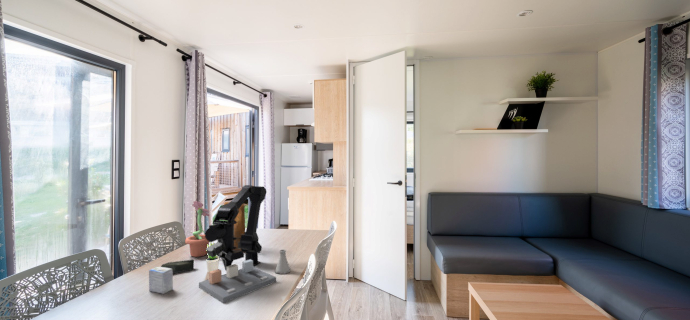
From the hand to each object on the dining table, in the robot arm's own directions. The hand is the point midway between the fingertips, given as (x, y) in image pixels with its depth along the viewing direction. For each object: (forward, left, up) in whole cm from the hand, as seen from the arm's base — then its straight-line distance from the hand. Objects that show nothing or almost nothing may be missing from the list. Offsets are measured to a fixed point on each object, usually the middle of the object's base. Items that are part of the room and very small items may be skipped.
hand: (227, 270), depth 129 cm
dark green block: (-25, -12, -4) cm, 28 cm away
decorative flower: (-41, +6, -4) cm, 41 cm away
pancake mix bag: (-33, +23, -4) cm, 40 cm away
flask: (+12, +21, -4) cm, 25 cm away
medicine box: (-10, -23, -4) cm, 25 cm away
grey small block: (+4, +8, -1) cm, 9 cm away
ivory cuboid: (+4, 0, -1) cm, 5 cm away
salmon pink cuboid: (+4, -7, -1) cm, 9 cm away
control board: (+9, 0, -4) cm, 10 cm away
